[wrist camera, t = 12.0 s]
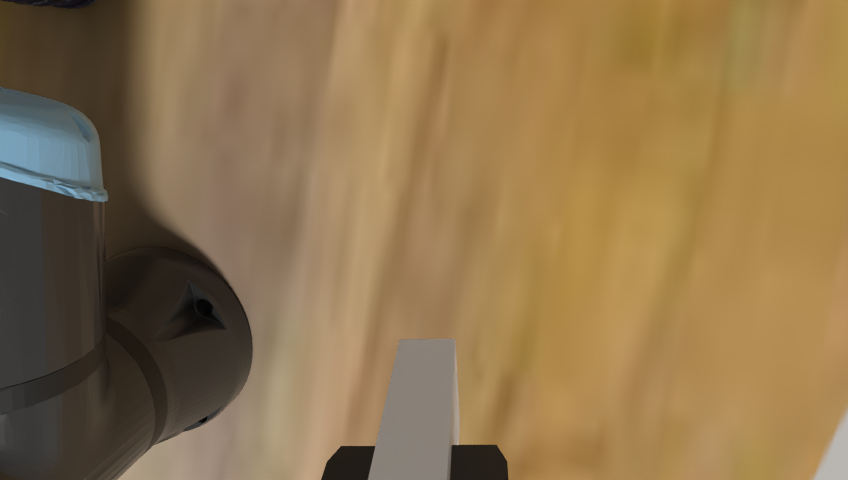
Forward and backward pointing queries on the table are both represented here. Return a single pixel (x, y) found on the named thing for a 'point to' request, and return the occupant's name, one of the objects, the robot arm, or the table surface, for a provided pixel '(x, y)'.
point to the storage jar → (56, 3)
